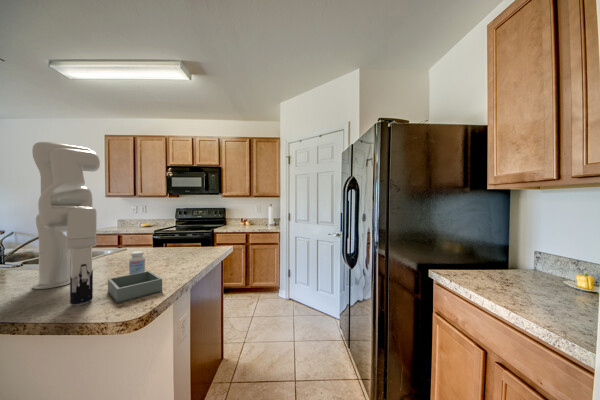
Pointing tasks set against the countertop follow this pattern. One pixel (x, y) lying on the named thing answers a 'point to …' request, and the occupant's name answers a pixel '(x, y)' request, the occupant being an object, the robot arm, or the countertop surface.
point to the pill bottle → (136, 263)
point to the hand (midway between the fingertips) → (81, 294)
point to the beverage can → (73, 286)
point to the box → (134, 286)
